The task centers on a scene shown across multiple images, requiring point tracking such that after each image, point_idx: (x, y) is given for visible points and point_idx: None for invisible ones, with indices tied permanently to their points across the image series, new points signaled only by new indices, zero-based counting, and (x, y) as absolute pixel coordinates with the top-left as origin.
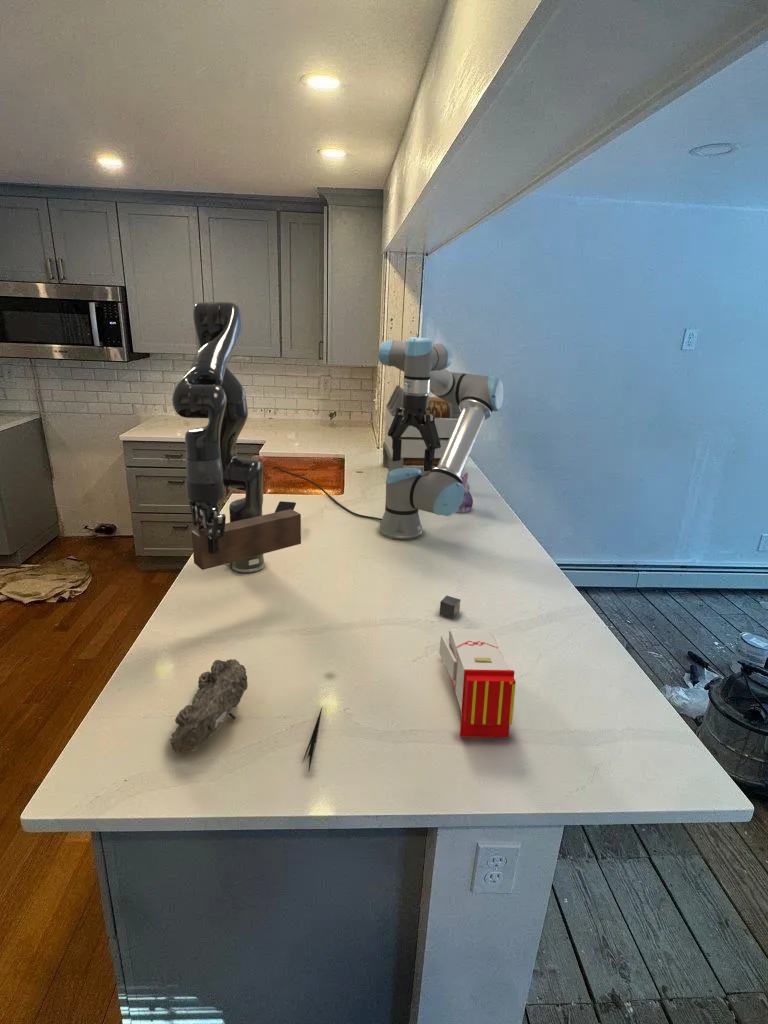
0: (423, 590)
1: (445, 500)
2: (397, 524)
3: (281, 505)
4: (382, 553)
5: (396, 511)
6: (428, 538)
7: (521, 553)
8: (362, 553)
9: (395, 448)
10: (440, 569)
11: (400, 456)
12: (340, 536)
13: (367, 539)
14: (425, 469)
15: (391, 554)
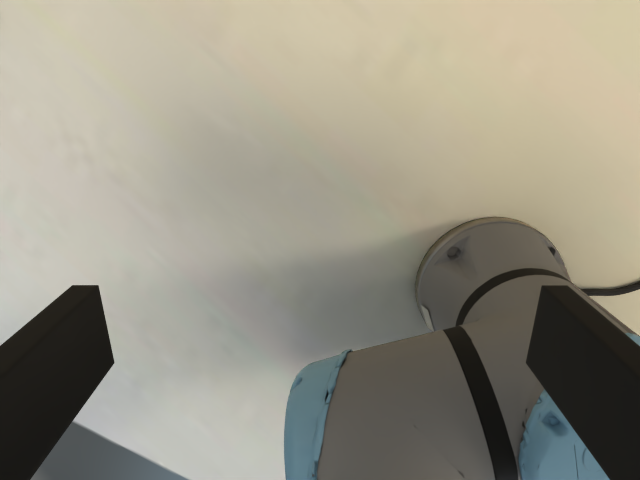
0: (112, 38)
1: (293, 397)
2: (472, 258)
3: None
4: (402, 121)
5: (501, 281)
6: (393, 317)
7: (170, 430)
8: (447, 60)
9: (635, 390)
10: (204, 191)
11: (545, 386)
12: (611, 92)
13: (521, 156)
14: (58, 298)
15: (377, 141)
